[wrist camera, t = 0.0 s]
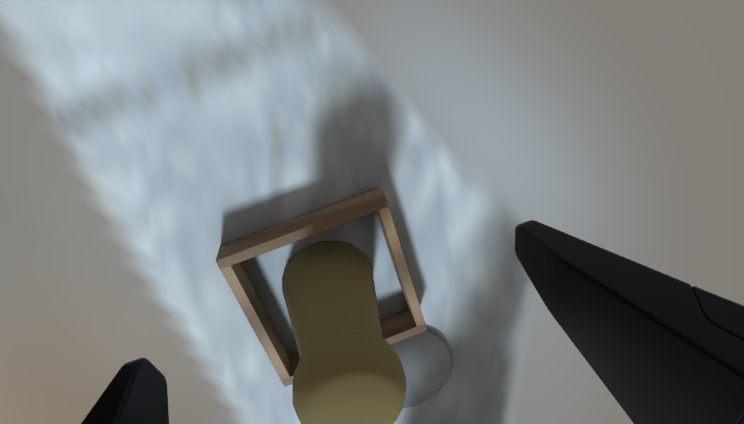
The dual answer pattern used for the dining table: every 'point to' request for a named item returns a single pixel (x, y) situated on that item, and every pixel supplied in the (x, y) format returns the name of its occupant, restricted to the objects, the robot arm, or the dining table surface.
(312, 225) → the frame
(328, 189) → the dining table surface
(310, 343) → the cork
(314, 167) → the dining table surface
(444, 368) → the grey round disc
